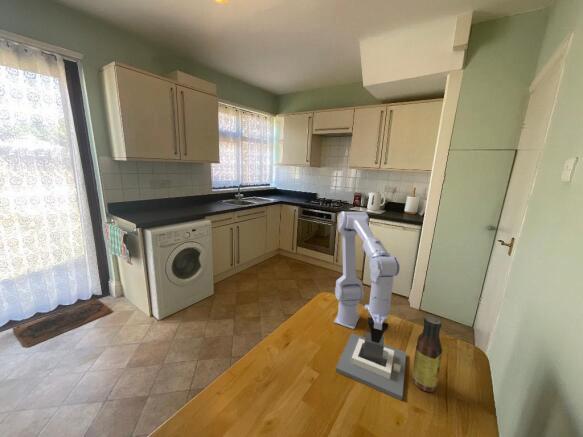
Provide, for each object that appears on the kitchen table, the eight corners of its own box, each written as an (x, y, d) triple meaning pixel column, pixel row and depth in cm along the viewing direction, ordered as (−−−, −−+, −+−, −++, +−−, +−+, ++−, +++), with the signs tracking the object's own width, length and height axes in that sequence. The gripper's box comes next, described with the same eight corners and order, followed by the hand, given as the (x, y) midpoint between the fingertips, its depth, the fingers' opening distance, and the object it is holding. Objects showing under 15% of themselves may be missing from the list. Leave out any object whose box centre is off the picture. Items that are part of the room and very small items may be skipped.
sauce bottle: (440, 395, 63) (452, 330, 60) (415, 390, 65) (425, 326, 61) (431, 375, 70) (441, 315, 66) (408, 371, 71) (417, 311, 67)
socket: (351, 336, 86) (352, 328, 85) (405, 355, 77) (407, 346, 77) (335, 371, 70) (336, 361, 69) (401, 400, 62) (403, 390, 61)
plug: (363, 351, 77) (365, 332, 75) (381, 357, 75) (383, 337, 73) (362, 361, 72) (364, 341, 71) (381, 367, 71) (383, 346, 69)
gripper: (367, 282, 77) (363, 319, 80) (364, 304, 64) (359, 348, 67) (391, 286, 75) (386, 325, 78) (392, 310, 62) (386, 356, 64)
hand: (375, 336), depth 72 cm, fingers open, 4 cm apart
